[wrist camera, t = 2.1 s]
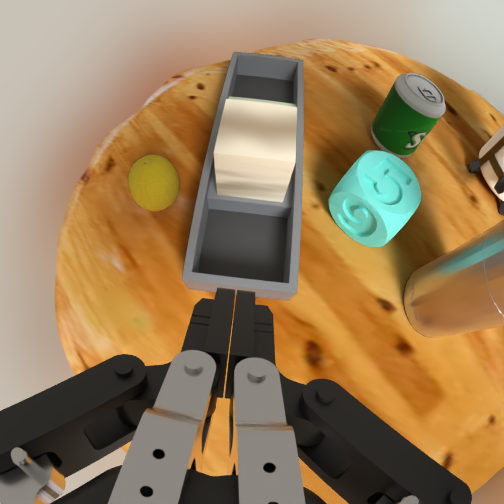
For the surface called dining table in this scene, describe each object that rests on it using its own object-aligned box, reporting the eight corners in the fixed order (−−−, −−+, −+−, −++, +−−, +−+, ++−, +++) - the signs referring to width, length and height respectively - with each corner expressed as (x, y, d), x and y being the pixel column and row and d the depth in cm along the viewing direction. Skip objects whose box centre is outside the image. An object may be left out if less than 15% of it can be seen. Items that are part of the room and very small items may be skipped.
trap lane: (288, 300, 32) (296, 292, 28) (188, 288, 32) (181, 279, 27) (298, 80, 43) (303, 60, 38) (232, 73, 42) (233, 51, 38)
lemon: (142, 182, 35) (123, 144, 28) (185, 179, 36) (175, 138, 28) (137, 223, 34) (115, 190, 26) (183, 220, 34) (171, 185, 26)
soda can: (382, 164, 38) (421, 109, 27) (359, 124, 40) (388, 66, 29) (419, 159, 39) (459, 110, 28) (396, 122, 42) (427, 71, 30)
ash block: (282, 202, 32) (295, 162, 25) (217, 194, 32) (213, 153, 25) (285, 150, 34) (297, 107, 27) (226, 143, 34) (226, 98, 27)
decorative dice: (399, 214, 36) (431, 185, 28) (369, 256, 34) (402, 231, 26) (354, 174, 37) (377, 138, 30) (319, 211, 35) (340, 176, 28)
